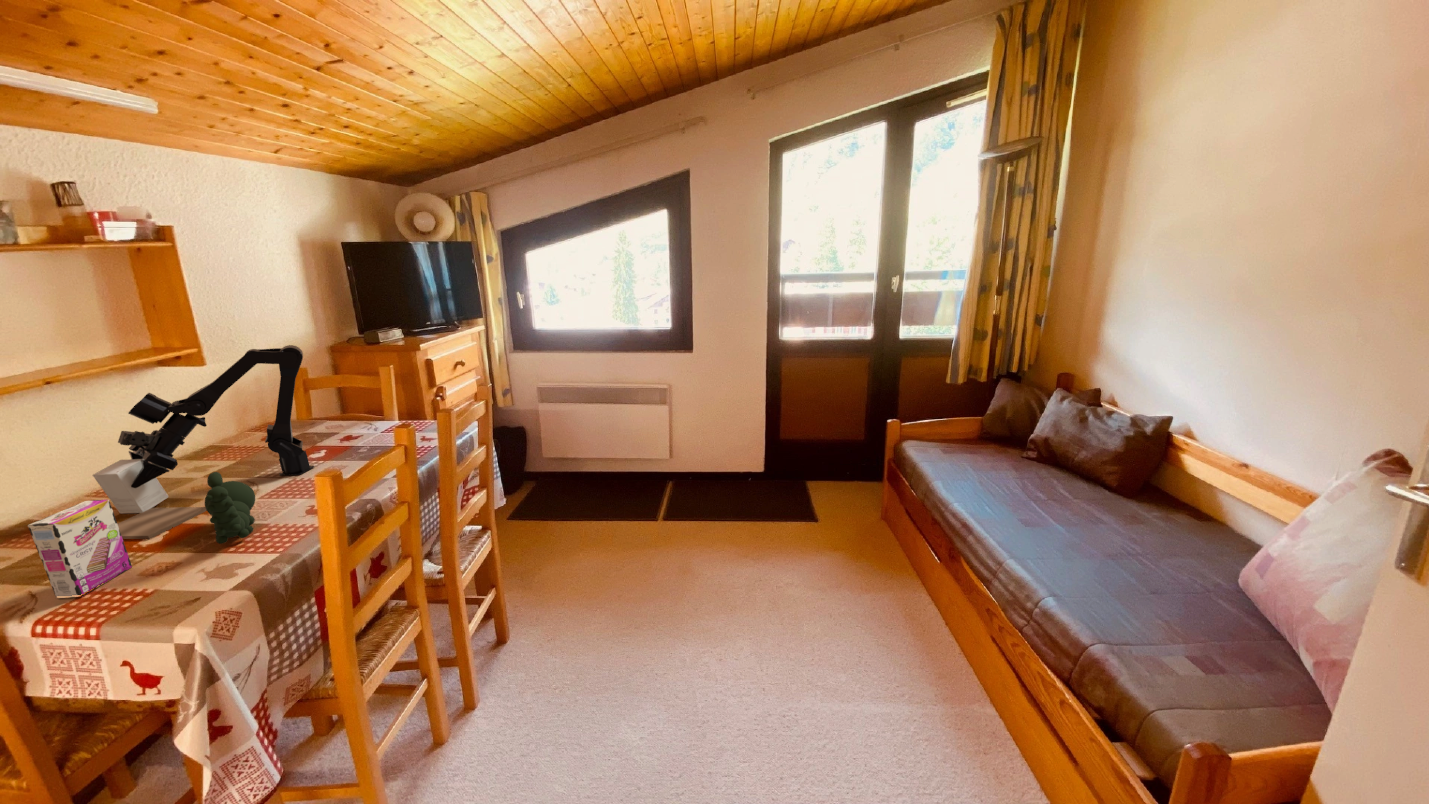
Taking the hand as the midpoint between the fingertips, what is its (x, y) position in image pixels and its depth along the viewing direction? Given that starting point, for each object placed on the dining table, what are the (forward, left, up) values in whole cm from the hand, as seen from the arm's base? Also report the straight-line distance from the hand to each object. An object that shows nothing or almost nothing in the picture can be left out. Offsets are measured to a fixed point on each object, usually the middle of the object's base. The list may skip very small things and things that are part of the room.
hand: (128, 483), depth 144 cm
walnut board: (-13, +8, -8) cm, 17 cm away
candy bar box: (-28, +33, -8) cm, 44 cm away
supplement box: (-1, -1, -7) cm, 7 cm away
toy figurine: (-39, +12, -8) cm, 41 cm away
